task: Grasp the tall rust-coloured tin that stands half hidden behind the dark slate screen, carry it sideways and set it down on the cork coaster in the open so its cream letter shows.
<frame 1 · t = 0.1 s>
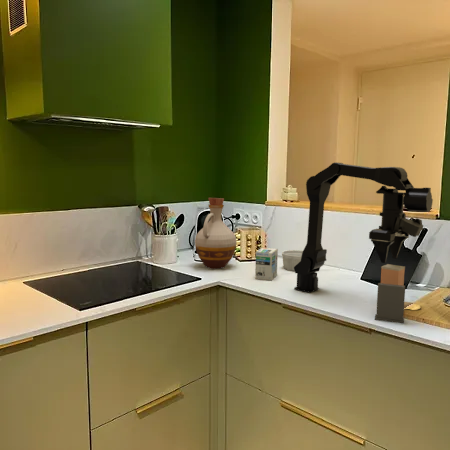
hand: (389, 260, 127), 15 cm above the worktop, tool pointing down, fingers open, 9 cm apart
tin: (390, 310, 126), on the worktop
screen: (389, 319, 117), on the worktop
coaster: (408, 306, 129), on the worktop
jug: (214, 267, 180), on the worktop
ramekin: (297, 269, 179), on the worktop
light bulb box: (266, 277, 164), on the worktop
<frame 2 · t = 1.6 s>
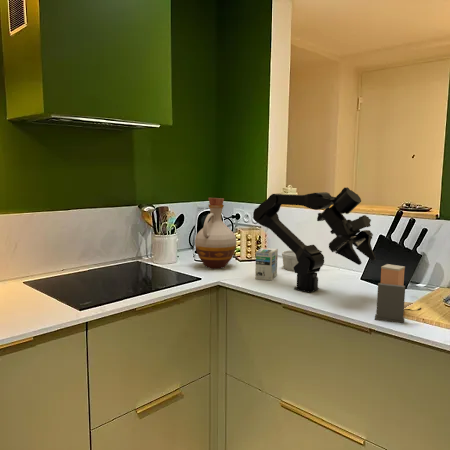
hand: (367, 261, 130), 13 cm above the worktop, tool tilted 45°, fingers open, 9 cm apart
nothing on the worktop moved.
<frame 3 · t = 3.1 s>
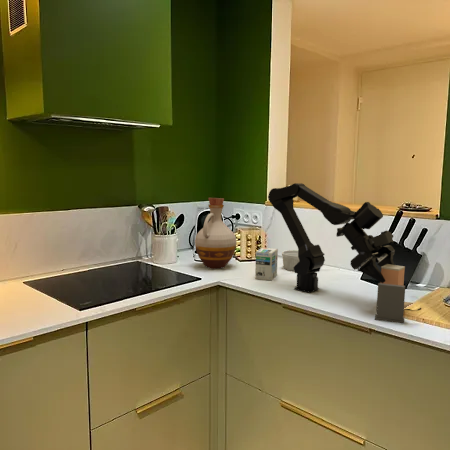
hand: (391, 279, 125), 9 cm above the worktop, tool tilted 45°, fingers open, 9 cm apart
nothing on the worktop moved.
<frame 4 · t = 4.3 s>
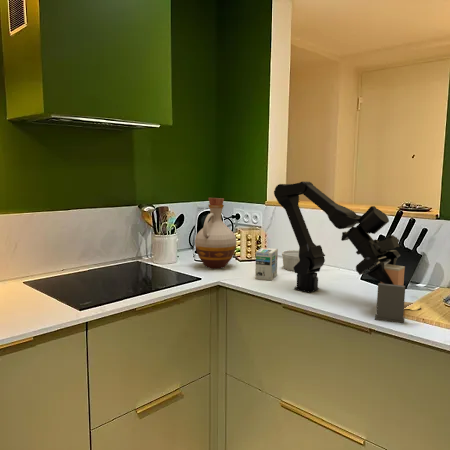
hand: (396, 284, 124), 8 cm above the worktop, tool tilted 45°, fingers closed on tin, 5 cm apart
tin: (390, 309, 126), on the worktop, touching gripper
everything else where it was.
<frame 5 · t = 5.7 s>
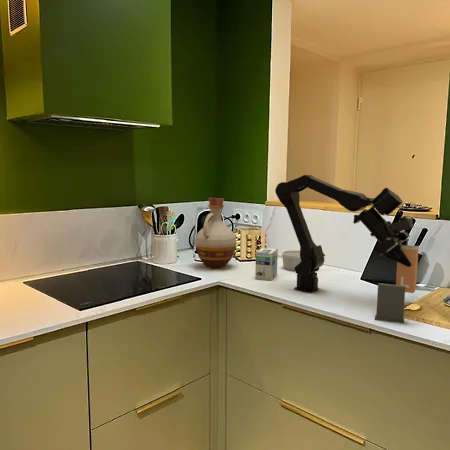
hand: (412, 264, 125), 14 cm above the worktop, tool tilted 45°, fingers closed on tin, 5 cm apart
tin: (405, 290, 127), point 6 cm above the worktop, touching gripper
everything else where it was.
when the fingers open (9 cm above the worktop, at t = 7.0 s): tin stays where it is, resting on coaster.
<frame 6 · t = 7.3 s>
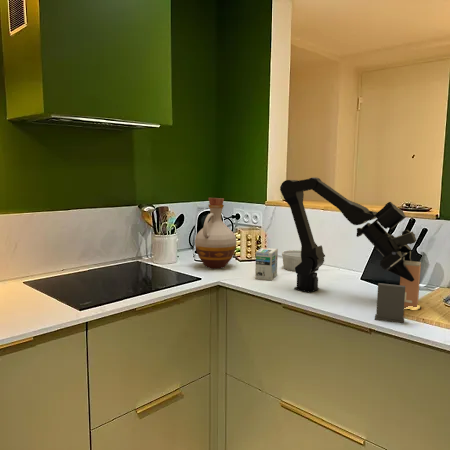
hand: (415, 277, 127), 9 cm above the worktop, tool tilted 45°, fingers open, 8 cm apart
tin: (408, 305, 129), point 1 cm above the worktop, touching coaster
everything else where it was.
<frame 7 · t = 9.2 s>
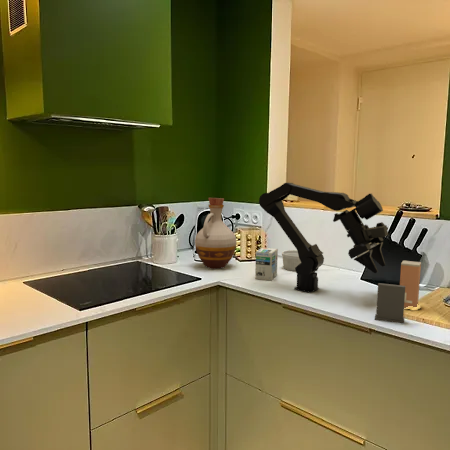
hand: (380, 269, 133), 10 cm above the worktop, tool tilted 35°, fingers open, 9 cm apart
nothing on the worktop moved.
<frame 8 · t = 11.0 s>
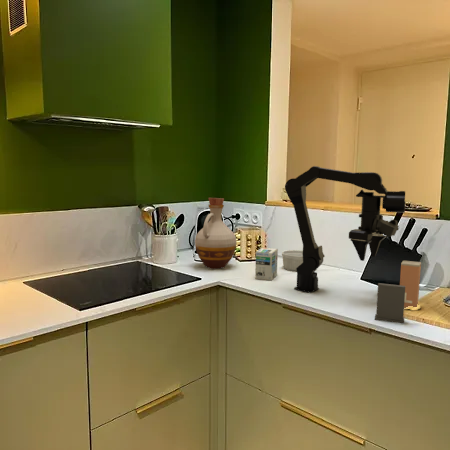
hand: (368, 258, 137), 13 cm above the worktop, tool pointing down, fingers open, 9 cm apart
nothing on the worktop moved.
at the end: tin inside the target area (0.1 cm from its centre), point 0.5 cm above the worktop; tin tilted 0°; tin moved 7.6 cm from its start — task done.
